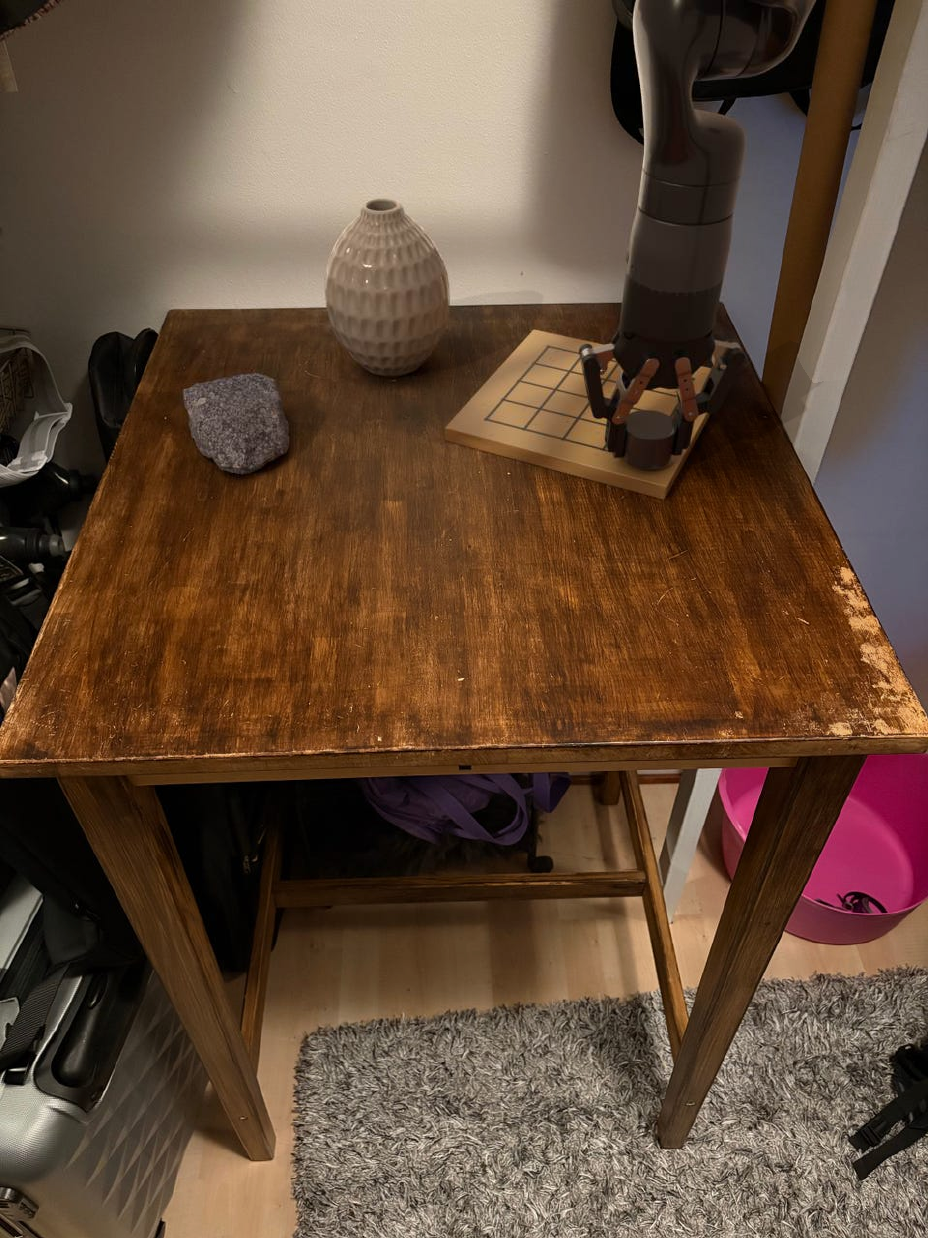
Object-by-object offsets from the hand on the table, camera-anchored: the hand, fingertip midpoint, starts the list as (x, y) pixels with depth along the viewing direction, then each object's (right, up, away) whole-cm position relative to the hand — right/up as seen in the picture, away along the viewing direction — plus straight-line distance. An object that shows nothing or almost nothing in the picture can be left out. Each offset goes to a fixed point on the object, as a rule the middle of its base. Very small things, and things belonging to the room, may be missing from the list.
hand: (645, 451), depth 82 cm
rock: (-37, +2, +6) cm, 38 cm away
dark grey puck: (0, 0, 0) cm, 0 cm away
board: (-4, +6, +9) cm, 12 cm away
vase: (-24, +13, +17) cm, 32 cm away
